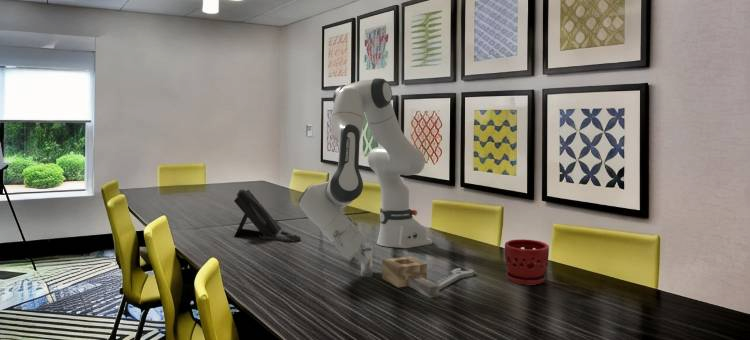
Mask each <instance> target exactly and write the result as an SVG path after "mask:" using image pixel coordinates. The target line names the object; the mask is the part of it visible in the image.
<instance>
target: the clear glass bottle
mask: <svg viewBox="0 0 750 340" xmlns="http://www.w3.org/2000/svg"><path fill="white" fill-rule="evenodd" d="M374 245H375V244H374V243H370V242H364V243H362V244H361V254H362V255H363V256H364V257H366V258H367V259H368V260H369V262H368V263H367V264H366V265H363V263H362V262H360V276H361V277H362V278H370V277H373V249H374V248H375V247H374Z"/></svg>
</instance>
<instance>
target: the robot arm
mask: <svg viewBox="0 0 750 340" xmlns="http://www.w3.org/2000/svg"><path fill="white" fill-rule="evenodd" d="M392 98H393V91H392V87H391V85H390V82H388V81H387V80H386V79H384V78H373V79H362V80H359V81H356V82H351V83H348V84H343V85H341V86H339V87H337V88H336V89H335V90H334V92H333V96H332V102H333V106H332V110H331V117H330V134H331V137H332V138H333V139H334V141H336V142H337V143H338V145H339V146H338V147H339V149H338V161H337V162H338V163H337V169H336V170H335V172H334V174H333V176H332V177H331V178H330V180H329V181H325V182H322V183H318V184H310V185H309V186H307V187H306V189H305V190H304V191H303V192H302V194H301V196H300V197H299V199H298V206H299V208H300V209H301V210H302V212H303V213H304V215H306V217H307V218H308V219H309V220H310V221H311V222H312V223H314V224H316V226H317V227H318V228H319V230H320V231H321V233H323V235H324V237H326V238H327V239H328V240H329V241H330V242H331V243H334V245H335V247H336V249H337V250H338V251H339V252H340V253H341V254H342V255H343V257H345V258H346V259H347V260H348V261H351V260H352V259H353V258H355V259H356V260H357V261H359V262H360V263H361V262H362V263H363V265H366V264H367V263H368V262H369V260H368V259H367V258H366V257H364V256H363V255H362V254H361V244H362V243H366V241H367V239H366V237H365V235H364V234H363V233H362V232H361V230H359V228H358V227H357V226H356V225H355V224H354V220H353V219H352V218H350V217H349V216H346V215H345V214H344V213H343V212H342V211H341V210H342V209H344V208H346V207H347V206H349V205H350V204H351V203H352V202H353V201H354V200H356V199H358V198H359V197H360V196H361V194H362V192H363V188H364V182H363V177H362V175H361V172H360V168H359V167H360V165H359V163H360V142H361V137H362V134H363V129H364V121H365V120H366V122H367V124H368V128H369V130H370V133H371V136H372V139H373V140H374V141H375V143H377V144H378V145H380V146H377V147H374V148H372V149H371V150H370V151H369V153H368V157H367V163H368V165H369V167H370V169H371V170H372V172H374V173H375V176H376V178H377V180H378V183H379V186H380V195H381V196H380V199H381V200H380V201H381V204H380V205H381V207H380V208H379V209H380V210H379V222H380V223H379V224H380V225H379V227H380V228H379V232H378V237H377V241H376V244H377V245H379V246H382V247H388V248H399V249H410V248H417V247H422V246H427V245H432V244H433V240H432V239H430V238H428V236H427V231H426V230H427V229H426V228H425V226H424V225H423V224H421V223H419V222H418V220H416V219H415V218H414V217H413V216H417V215H418V211H417V210H415V209H412V210H411V209H410V191H409V188H408V186H407V185H406V184H405V183H403V182H404V181H402V179H401V176H413V175H418V174H420V173H421V172H422V171H423V169H424V168H425V164H426V159H425V155H424V153H423V152H422V150H420V149H418V148H417V147H416V146H414V145H413V144H412V143H411V142H410V140H409V139H408V138H407V136H405V134H404V132H403V131H402V128H401V127H400V124H399V121H398V118H397V115H396V113H395V109H394V107H393V104H392Z"/></svg>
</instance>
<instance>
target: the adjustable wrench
mask: <svg viewBox="0 0 750 340" xmlns="http://www.w3.org/2000/svg"><path fill="white" fill-rule="evenodd" d="M461 269H462V268H459V267H457V268H454V269H451V270H450V275H449V276H446V277H445V278H442V279H440V280H439V281H436V282H434V284H436V285H438V286H439V291H440V290H442V289H443V288H446V287H447V286H448V285H450V284H452V283H454V282H456V281H458V280H460V279H463V278H470V277H473V276H475V275H474V274H475V271H474V269H472V268H469V270H461Z"/></svg>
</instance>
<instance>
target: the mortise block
mask: <svg viewBox="0 0 750 340" xmlns="http://www.w3.org/2000/svg"><path fill="white" fill-rule="evenodd" d="M381 264H382V266H381V267H382V268H381V270H382V271H381V272H382V273H381V279H382V280H384V281H386V282H387V283H389V284H391V285H392V286H394V287H396V288H403V287H409V288H411V289H412V290H415V291H416V292H418V293H420V294H422V295H424V296H425V297H428V298H430V299H431V298H438V297H440V290H439V286H438V285H436V284H435V282H434V283H433V282H432V281H430V280H429V279H428V263H426V262H423V261H421V260H419V259H417V258H415V257H413V256H403V257H395V258H394V257H393V258H385V259H382V262H381Z"/></svg>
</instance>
